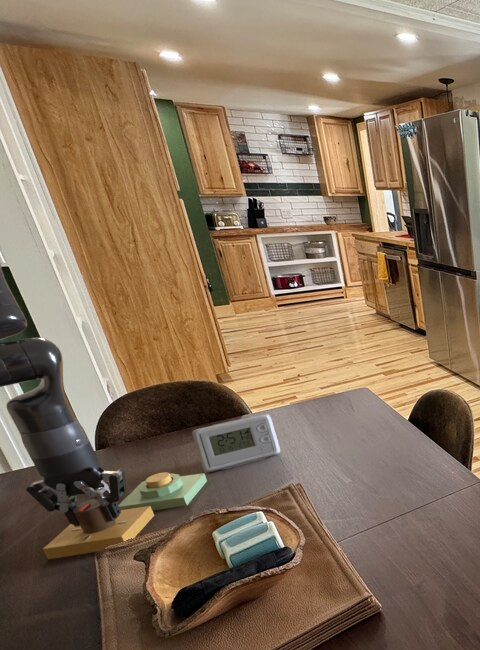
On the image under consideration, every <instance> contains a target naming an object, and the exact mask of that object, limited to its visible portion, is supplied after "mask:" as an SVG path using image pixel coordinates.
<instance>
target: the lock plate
mask: <svg viewBox="0 0 480 650" xmlns="http://www.w3.org/2000/svg"><path fill="white" fill-rule="evenodd" d="M153 517H155V514H154V510H153V511H152V509H151V507H150V506H147V507H140V508H133V509H126V510H121V513H120V514H119V516H118V517H117V519H116V521H115V523H114V524H113V525H112V526H110V527H108V528H106V529H104V530H102V531H99V532H95V533H84V532H83V530H82V528H81V527H80V526H78V527H75V526H74V525H72V524H71V523H69V525H68V526H66V527H65V528H64V529H62V531H61V532H60V533H59V534H58V535H57V536H56V537H54V538H53V539H52V540H51V541H50V542H49V543H47V545H45V546H44V547H43V548H42V551H43V552H44V554H45V556H46V558H47V560H53V559H59V558H64V557H65V558H66V557H71V556H78V555H84V554H91V553H95V552H96V553H97V552H101V551H100V550H102V549H103V548H104V549H105V548H106V547H108V546H110V545H114V544H118V543H121V542H124V541H126V540H128V539H131V538H132V539H133V538H134V539H135V538H136V537H137V536H138V535H139V534H140V533H141V531H142V530H143V529H144V527H146V526H147V524H148V523H149V522H150V521H151V520H152V519H153ZM134 539H133V540H134ZM102 551H103V550H102Z"/></svg>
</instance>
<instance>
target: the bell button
mask: <svg viewBox="0 0 480 650" xmlns="http://www.w3.org/2000/svg"><path fill="white" fill-rule="evenodd" d="M170 474H171V473H169V472H167V471H164V472H158V473H155V474H152V475H150V476H148V477H147V478H146V479H145V481H146V483H147V485H148V488H150V489H152V488H158V487H161V486H165V485H167V484H169V483H170V482H172V479H171V476H170Z"/></svg>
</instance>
